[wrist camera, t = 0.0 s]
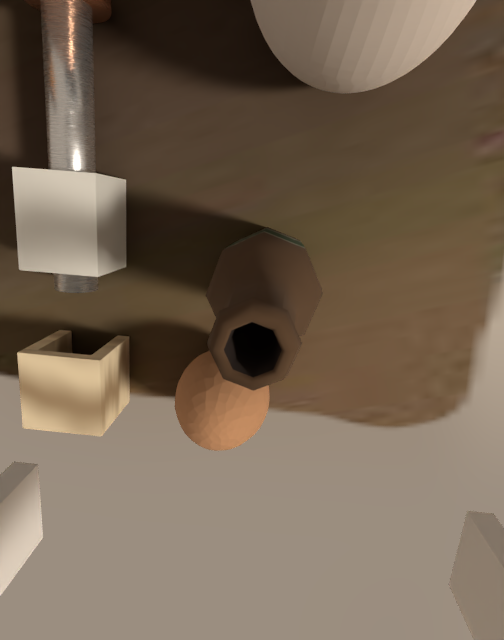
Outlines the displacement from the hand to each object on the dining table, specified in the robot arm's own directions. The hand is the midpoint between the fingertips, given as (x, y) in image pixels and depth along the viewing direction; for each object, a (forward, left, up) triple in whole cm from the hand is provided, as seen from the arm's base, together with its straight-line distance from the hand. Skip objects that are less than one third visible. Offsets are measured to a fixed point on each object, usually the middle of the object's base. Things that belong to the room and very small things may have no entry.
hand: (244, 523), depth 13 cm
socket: (+7, -17, -28) cm, 34 cm away
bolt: (-13, -17, -28) cm, 35 cm away
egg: (+7, -3, -28) cm, 29 cm away
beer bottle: (-4, 0, -28) cm, 29 cm away
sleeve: (-7, -17, -28) cm, 34 cm away
